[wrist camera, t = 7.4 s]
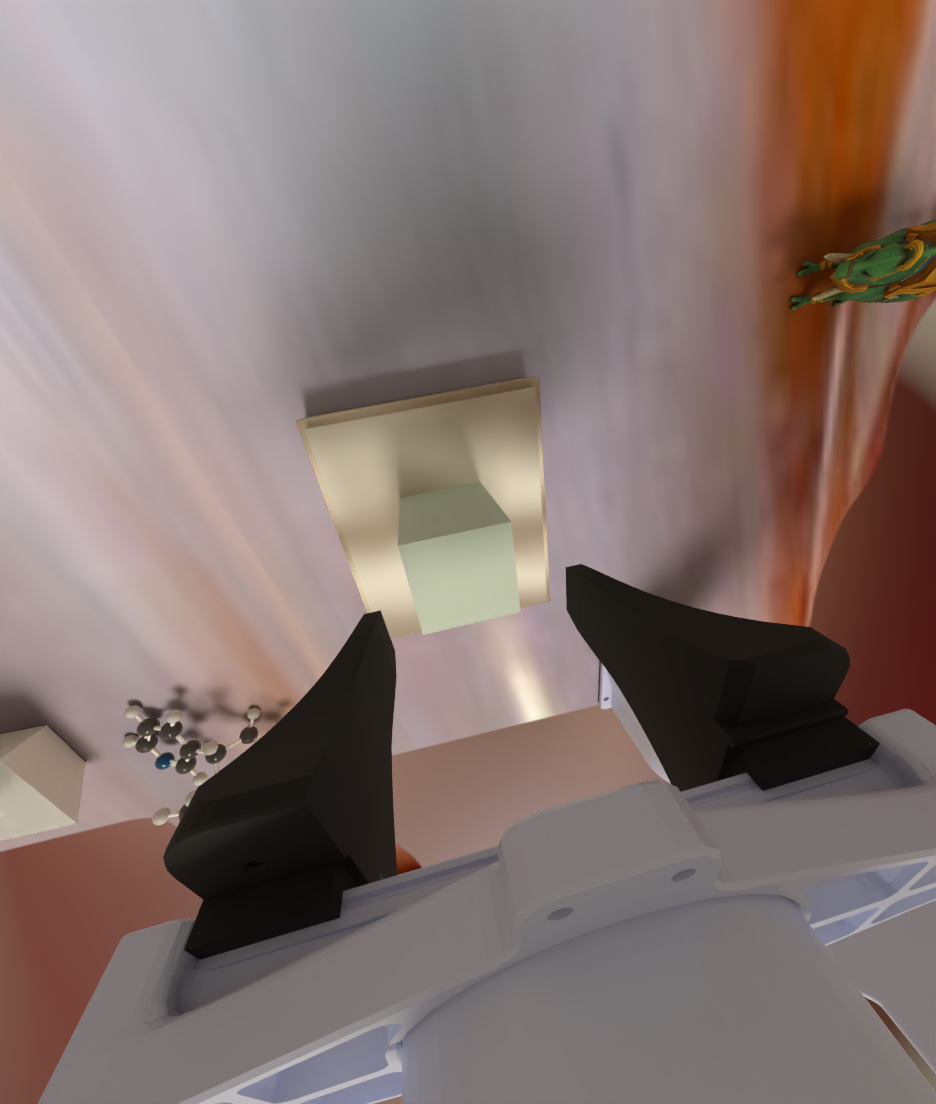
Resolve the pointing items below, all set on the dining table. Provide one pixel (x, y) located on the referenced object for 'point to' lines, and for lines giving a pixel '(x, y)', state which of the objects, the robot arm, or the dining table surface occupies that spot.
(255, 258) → the dining table surface
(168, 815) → the molecule model
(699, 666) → the robot arm
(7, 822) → the figurine
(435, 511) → the sage block
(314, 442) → the birch base
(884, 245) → the figurine
